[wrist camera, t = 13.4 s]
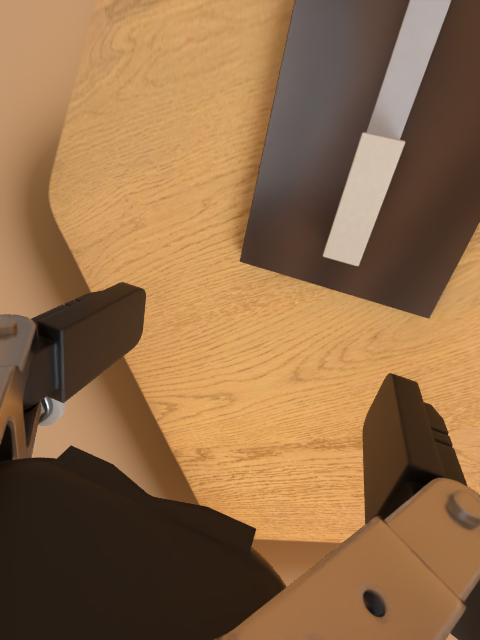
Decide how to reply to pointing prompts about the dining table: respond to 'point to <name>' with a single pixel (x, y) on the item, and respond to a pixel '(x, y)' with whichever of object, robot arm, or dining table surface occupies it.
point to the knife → (385, 132)
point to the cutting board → (341, 145)
